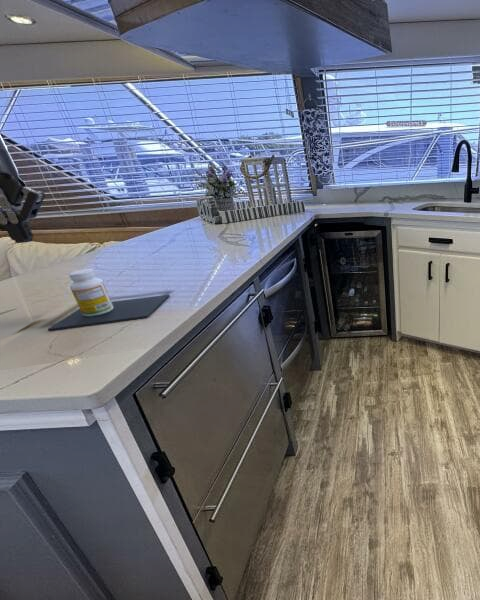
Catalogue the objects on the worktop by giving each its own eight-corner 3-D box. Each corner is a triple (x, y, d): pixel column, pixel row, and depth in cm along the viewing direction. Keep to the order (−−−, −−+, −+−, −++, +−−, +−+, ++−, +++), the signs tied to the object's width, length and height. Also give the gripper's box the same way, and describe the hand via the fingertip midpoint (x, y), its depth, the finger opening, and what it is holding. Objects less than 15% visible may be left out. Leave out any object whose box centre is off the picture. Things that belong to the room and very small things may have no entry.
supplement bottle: (91, 309, 75) (73, 269, 71) (118, 305, 76) (102, 266, 72) (78, 318, 70) (57, 276, 66) (107, 314, 72) (88, 273, 68)
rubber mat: (48, 331, 66) (47, 329, 66) (86, 306, 78) (85, 304, 78) (147, 317, 70) (147, 315, 70) (169, 296, 82) (169, 294, 82)
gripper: (35, 147, 63) (75, 235, 70) (-51, 150, 60) (-1, 241, 67) (4, 145, 56) (51, 242, 63) (-95, 148, 53) (-34, 250, 60)
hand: (24, 241), depth 65 cm, fingers closed
